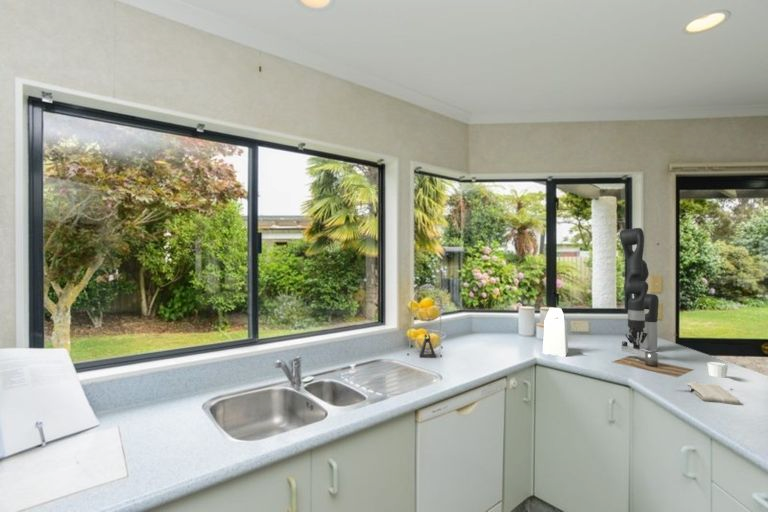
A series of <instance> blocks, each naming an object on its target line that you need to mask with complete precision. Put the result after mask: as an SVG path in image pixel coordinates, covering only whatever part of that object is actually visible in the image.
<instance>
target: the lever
mask: <svg viewBox="0 0 768 512" xmlns="http://www.w3.org/2000/svg"><path fill="white" fill-rule="evenodd" d="M621 352H624V353H628V354H630V355H634V356H636V357H637V356H638V357H640V358H641V357H643V359H645V365H648V366H654V367H656V366H658V362H659V361H658V360H659V359H658V357H659V356H658V353H657V352H651V351H648V350H646V349H637V348H634V347H633V346H629V345H628V341H623V340H622V341H621Z"/></svg>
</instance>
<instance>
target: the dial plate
mask: <svg viewBox="0 0 768 512" xmlns="http://www.w3.org/2000/svg"><path fill="white" fill-rule="evenodd" d="M612 363H613V364H618V365H622V366H628V367H632V368H636V369H640V370H643V371H644V370H645V371H647V372H652V373H657V374H661V375H665V376H670V377H674V378H679V377H681V376H683V375H686V374H687V373H690V372H692V371H694V370H695V369H694V368H688V367H684V366H681V365H680V366H679V365H674V364H670V363H666V362H665V363H664V362H661V361H658V366H656V367H654V366H648V365H645V358H641V357H639V356H638V357H637V356H633V355H632V356H631V355H628V356H625V357H621V358H620V359H617V360H614V361H612Z"/></svg>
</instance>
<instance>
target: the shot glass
mask: <svg viewBox="0 0 768 512" xmlns="http://www.w3.org/2000/svg"><path fill="white" fill-rule="evenodd" d="M706 363H707V371H708V376H711V377H714V378H721V379H722V378H723V379H725V378H727V372H728V364H726V363H723V362H717V361H707V362H706Z"/></svg>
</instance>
